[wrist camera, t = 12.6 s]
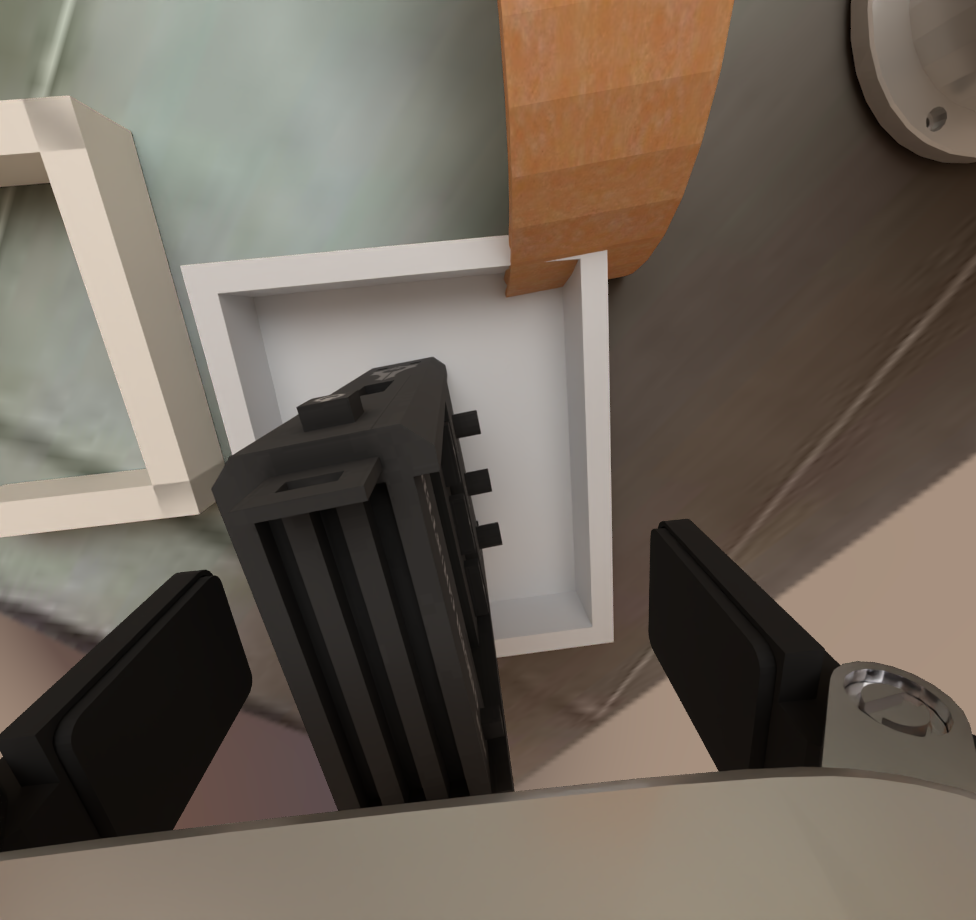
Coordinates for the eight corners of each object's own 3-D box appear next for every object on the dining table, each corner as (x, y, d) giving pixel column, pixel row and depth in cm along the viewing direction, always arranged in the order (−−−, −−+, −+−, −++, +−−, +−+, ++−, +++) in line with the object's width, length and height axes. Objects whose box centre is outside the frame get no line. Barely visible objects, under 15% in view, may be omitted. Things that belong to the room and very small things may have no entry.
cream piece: (131, 131, 18) (69, 95, 15) (231, 489, 22) (199, 514, 19) (-139, 153, 17) (-256, 120, 15) (19, 513, 22) (-46, 542, 19)
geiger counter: (501, 548, 23) (581, 914, 9) (414, 566, 23) (353, 963, 9) (461, 340, 20) (484, 391, 6) (359, 359, 20) (130, 460, 6)
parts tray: (577, 243, 20) (606, 225, 16) (589, 594, 26) (613, 642, 22) (232, 276, 20) (179, 265, 16) (319, 628, 25) (295, 684, 21)
